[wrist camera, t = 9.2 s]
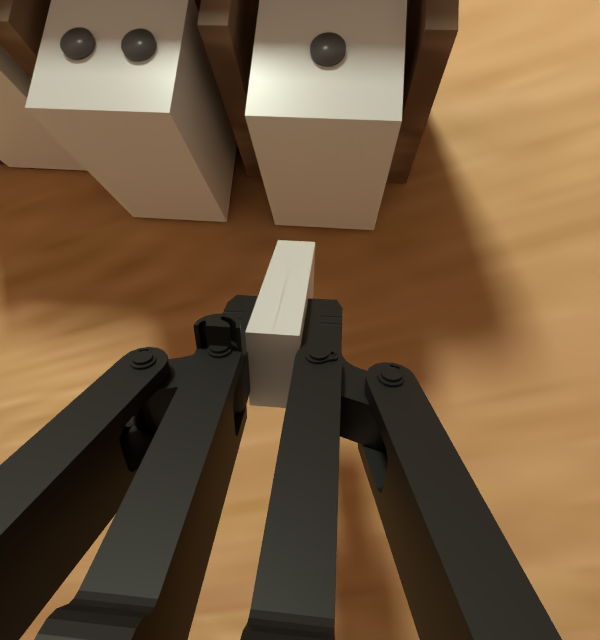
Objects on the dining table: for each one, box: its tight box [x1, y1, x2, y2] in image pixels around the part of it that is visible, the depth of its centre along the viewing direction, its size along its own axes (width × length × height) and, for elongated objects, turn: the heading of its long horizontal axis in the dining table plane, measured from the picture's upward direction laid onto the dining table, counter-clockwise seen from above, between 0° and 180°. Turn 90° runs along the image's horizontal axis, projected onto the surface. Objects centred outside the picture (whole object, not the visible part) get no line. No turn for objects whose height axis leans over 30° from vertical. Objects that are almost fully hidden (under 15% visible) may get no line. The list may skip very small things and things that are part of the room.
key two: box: [25, 0, 237, 222], centre depth 23 cm, size 6×6×10 cm
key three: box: [0, 44, 86, 170], centre depth 24 cm, size 6×6×10 cm
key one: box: [245, 0, 407, 230], centre depth 22 cm, size 6×6×10 cm
